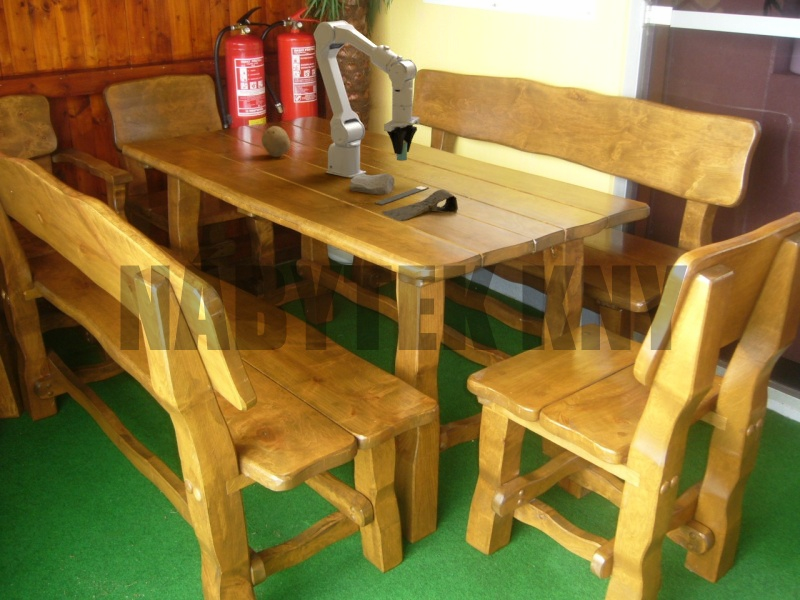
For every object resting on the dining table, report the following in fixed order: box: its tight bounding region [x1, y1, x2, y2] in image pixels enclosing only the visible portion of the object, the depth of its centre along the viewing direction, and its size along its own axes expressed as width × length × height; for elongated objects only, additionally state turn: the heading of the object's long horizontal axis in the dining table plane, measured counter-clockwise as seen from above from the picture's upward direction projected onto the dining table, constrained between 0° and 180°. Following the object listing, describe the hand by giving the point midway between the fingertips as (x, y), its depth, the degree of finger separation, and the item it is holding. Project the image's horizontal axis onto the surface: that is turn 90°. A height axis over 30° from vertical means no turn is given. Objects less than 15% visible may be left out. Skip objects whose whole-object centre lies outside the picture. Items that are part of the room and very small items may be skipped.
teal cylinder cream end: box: [396, 140, 408, 162], centre depth 236 cm, size 3×3×5 cm
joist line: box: [374, 185, 430, 206], centre depth 228 cm, size 2×22×1 cm, turn 144°
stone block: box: [349, 173, 395, 195], centre depth 233 cm, size 12×5×10 cm
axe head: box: [381, 189, 459, 222], centre depth 213 cm, size 21×5×10 cm
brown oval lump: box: [261, 125, 291, 158], centre depth 266 cm, size 9×9×10 cm
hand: (401, 152), depth 237 cm, fingers closed on teal cylinder cream end, 3 cm apart
